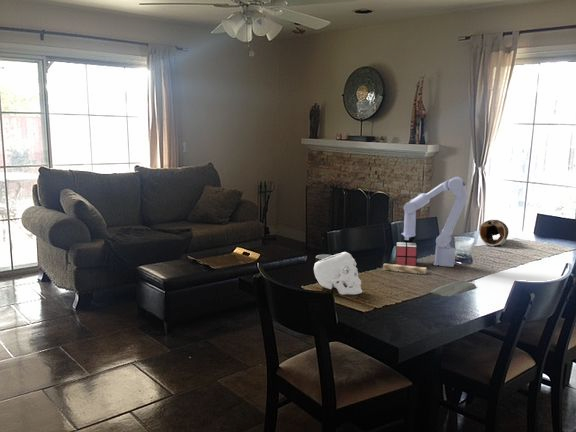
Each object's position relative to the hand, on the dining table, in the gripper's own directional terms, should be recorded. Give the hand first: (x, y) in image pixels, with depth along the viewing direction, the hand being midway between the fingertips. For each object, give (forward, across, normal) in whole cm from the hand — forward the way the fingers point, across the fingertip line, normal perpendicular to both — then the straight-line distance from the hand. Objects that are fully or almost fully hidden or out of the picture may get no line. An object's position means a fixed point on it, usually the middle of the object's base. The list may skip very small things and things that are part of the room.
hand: (408, 251), depth 266 cm
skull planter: (+5, +61, -18) cm, 64 cm away
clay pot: (+5, -64, +40) cm, 76 cm away
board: (+5, +21, +2) cm, 22 cm away
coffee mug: (+5, +46, -28) cm, 54 cm away
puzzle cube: (+5, +7, 0) cm, 9 cm away
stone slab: (+6, +42, +27) cm, 50 cm away
